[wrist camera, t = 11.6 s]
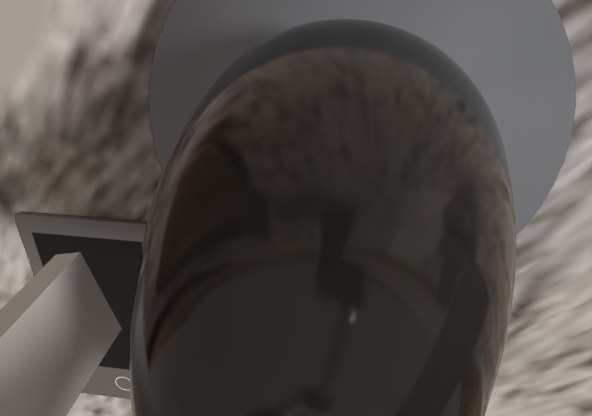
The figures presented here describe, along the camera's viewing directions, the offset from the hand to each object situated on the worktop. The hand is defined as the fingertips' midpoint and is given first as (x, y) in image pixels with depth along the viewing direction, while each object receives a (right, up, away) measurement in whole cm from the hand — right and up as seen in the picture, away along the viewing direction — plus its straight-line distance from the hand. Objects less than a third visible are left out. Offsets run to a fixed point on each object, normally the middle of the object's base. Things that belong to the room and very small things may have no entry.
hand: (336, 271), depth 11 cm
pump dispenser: (+1, +4, +8) cm, 9 cm away
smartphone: (-13, -5, +19) cm, 23 cm away
